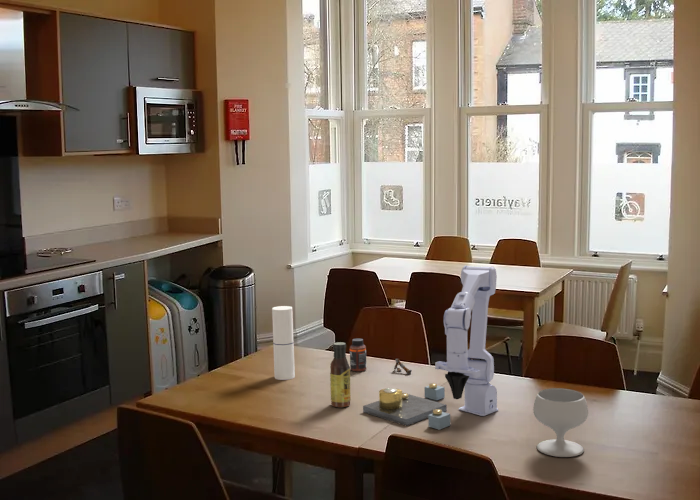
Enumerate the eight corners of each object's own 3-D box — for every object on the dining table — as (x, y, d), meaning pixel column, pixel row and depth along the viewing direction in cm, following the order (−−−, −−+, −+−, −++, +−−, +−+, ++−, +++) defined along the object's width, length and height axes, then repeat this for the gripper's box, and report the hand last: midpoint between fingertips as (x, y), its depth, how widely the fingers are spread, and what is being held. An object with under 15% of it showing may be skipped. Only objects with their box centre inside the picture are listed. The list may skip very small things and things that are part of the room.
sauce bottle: (348, 409, 250) (347, 346, 247) (328, 408, 251) (327, 345, 248) (352, 402, 256) (351, 341, 253) (333, 401, 257) (331, 340, 255)
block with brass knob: (450, 425, 232) (450, 410, 232) (439, 429, 229) (439, 414, 228) (439, 422, 235) (439, 407, 235) (428, 426, 232) (428, 411, 231)
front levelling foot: (444, 397, 258) (444, 384, 257) (436, 400, 255) (436, 387, 255) (432, 394, 262) (432, 381, 261) (424, 397, 259) (424, 383, 258)
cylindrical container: (271, 379, 284) (268, 309, 281) (279, 373, 291) (276, 305, 288) (290, 380, 282) (288, 310, 279) (297, 374, 289) (295, 306, 285)
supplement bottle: (369, 368, 294) (369, 338, 293) (361, 372, 289) (360, 342, 288) (355, 366, 297) (355, 336, 296) (347, 370, 292) (346, 340, 291)
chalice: (578, 439, 220) (578, 385, 218) (595, 458, 206) (596, 402, 204) (527, 441, 219) (527, 387, 217) (541, 460, 205) (541, 404, 203)
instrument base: (446, 411, 246) (446, 387, 245) (406, 425, 233) (406, 401, 232) (403, 398, 258) (402, 376, 258) (363, 412, 246) (362, 389, 245)
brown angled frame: (394, 366, 293) (398, 356, 291) (408, 379, 288) (412, 369, 286) (391, 367, 292) (394, 357, 290) (404, 380, 287) (408, 370, 285)
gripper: (427, 349, 227) (428, 396, 228) (468, 358, 216) (469, 407, 218) (444, 344, 232) (444, 390, 233) (484, 353, 221) (485, 401, 223)
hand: (457, 398), depth 226 cm, fingers closed
